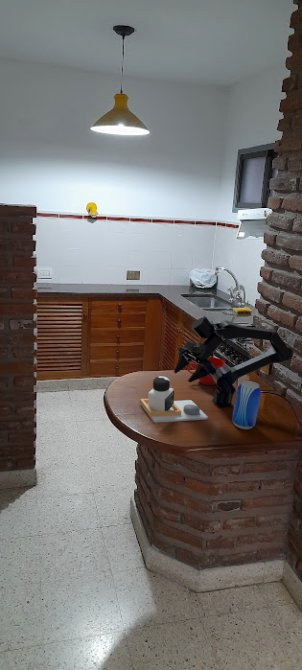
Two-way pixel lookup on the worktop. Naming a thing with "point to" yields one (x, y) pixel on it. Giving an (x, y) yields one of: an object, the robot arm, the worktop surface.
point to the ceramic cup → (209, 379)
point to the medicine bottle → (161, 395)
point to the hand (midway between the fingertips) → (181, 377)
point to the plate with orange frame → (175, 412)
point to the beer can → (246, 405)
